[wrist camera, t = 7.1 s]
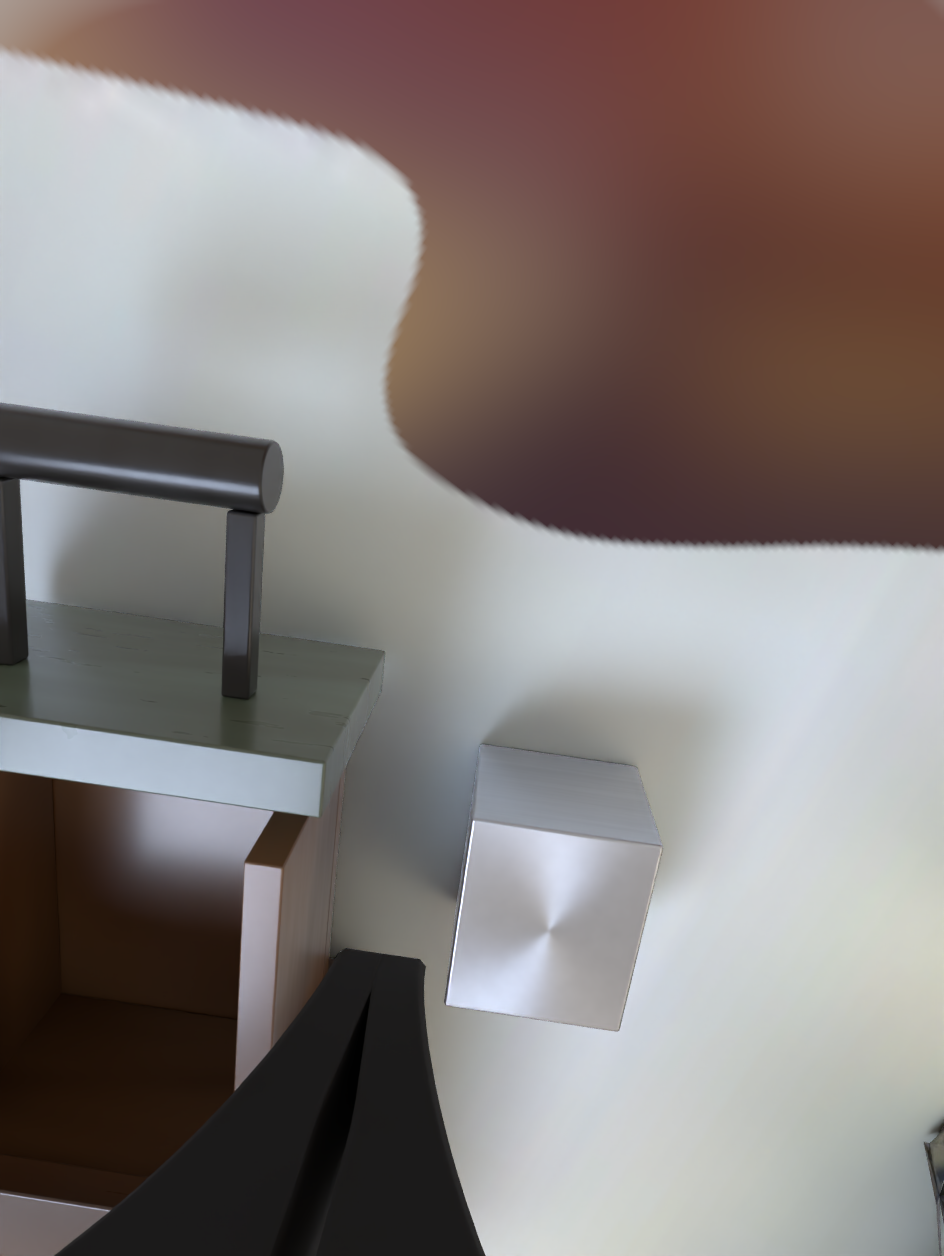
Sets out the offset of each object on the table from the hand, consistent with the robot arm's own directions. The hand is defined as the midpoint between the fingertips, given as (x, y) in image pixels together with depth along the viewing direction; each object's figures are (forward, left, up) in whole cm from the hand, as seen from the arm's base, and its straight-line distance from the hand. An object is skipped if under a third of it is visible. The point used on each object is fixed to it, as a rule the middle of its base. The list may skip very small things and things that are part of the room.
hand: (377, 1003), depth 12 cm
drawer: (-3, -6, -9) cm, 11 cm away
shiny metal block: (+4, +2, -10) cm, 10 cm away
